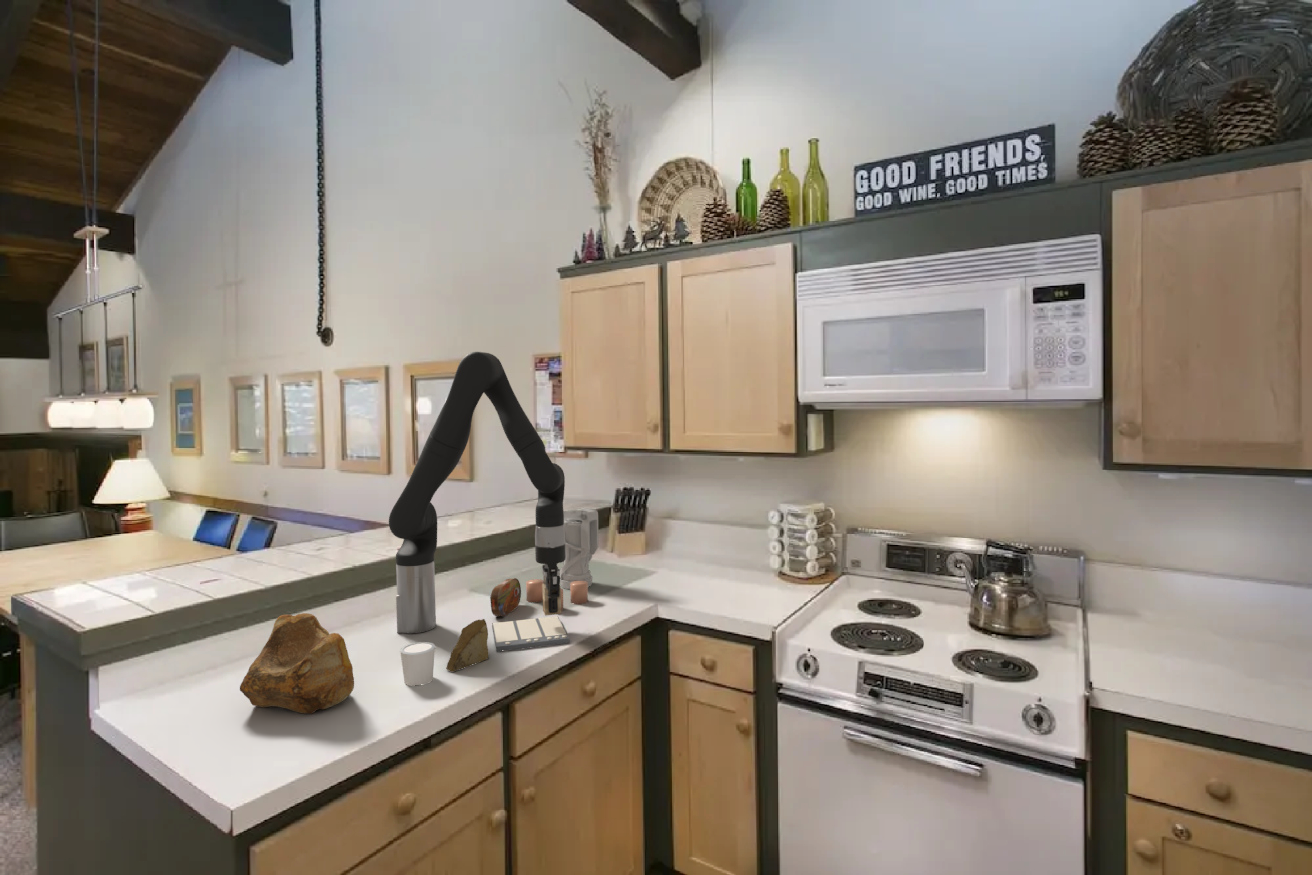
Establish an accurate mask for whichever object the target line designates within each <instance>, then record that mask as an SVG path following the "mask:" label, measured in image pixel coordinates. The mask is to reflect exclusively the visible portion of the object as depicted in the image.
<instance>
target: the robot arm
mask: <svg viewBox="0 0 1312 875" xmlns="http://www.w3.org/2000/svg"><path fill="white" fill-rule="evenodd" d="M483 394H484V395H485V396H486V397H487V398H488V399H489V401H490V402H491V404H492V406H493V407H494V409H495V411H496V413H497V416H498V419H499V422H500V423H501V427H502V430H503V432H504V434H505V437H506V438H507V440H508V442H509V443H510V445H511V446H512V448H513V450H514V452H515V453H516V455H517V456H518V458H519V459H520V460H521V462H522V465H523V468H524V469H525V472H526V474H527V476H528V478H529V480H530V482H531V484H532V485H533V486H534V488H535V489H536V490H537V499H538V500H537V503H536V505H535V532H534V543H535V544H534V545H535V546H534V549H535V550H534V551H535V561H536V563H538V564H541V565H542V569H541V573H542V580H543V583H544V584H545V587H546V589H548V606H549V613H556V612H557V611H558V597H559V596H560V593H559V592H560V586H561V584H560V569H561V568H560V569H559V566H558V564H559V563H560V564H561V563H563V561H565V559H566V550H565V529H564V511H565V510H564V498H565V485H566V484H565V483H566V481H565V479H566V478H565V473H564V470H563V468H562V467H561V466H560V465H559V464H557V463H556V462H555V463H554V462H553V461H552V460H551V458H550V456H549V455H548V453H547V451H546V446H545V443H544V441H543V439H542V438H541V436H540V434H539V433H538V431H537V430H536V428H535V427H534V426H533V424H532V422H531V421H530V419H529V417H528V415H527V414H526V412H525V411H524V409H523V407H522V405H521V404H520V402H519V400H518V398H517V396H516V394H515V392H514V390H513V388H512V385H511V384H510V381H509V379H508V376H507V374H506V372H505V369H504V367H503V364H502V361H501V360H500V359H499V358H498V357H497V356H495V355H494V354H492V353H489V352H482V351H472V352H470V353H466V355H465V356H463V358H461V360H460V362H459V364H458V366H457V368H456V372H455V375H454V377H453V381H452V384H451V387H450V390H449V392H448V395H447V398H446V400H445V401H444V404H443V407H442V408H441V410H440V412H439V414H438V416H437V419H436V420H435V423H434V425H433V426H432V428H431V430H430V432H429V434H428V437H427V439H426V442H425V444H424V446H423V448H422V451H421V453H420V455H419V457H418V460H417V462H416V464H415V466H414V468H413V470H412V473H411V475H410V478H409V479H408V482H407V484H406V486H405V487H404V488H403V490H402V492H401V494H400V495H399V497H398V499H397V501H396V502H395V504H394V506H393V507H392V509H391V511H390V514H389V516H388V526H389V530H390V532H391V534H392V535H393V536H395V537H396V538H398V539H401V540H403V541H402V544H401V546H400V548H399V549H398V550H397V552H396V554H395V570H396V596H395V600H396V601H395V602H396V603H395V604H396V606H395V607H396V630H397V631H396V633H397V634H418V633H423V632H427V631H430V630H432V629H434V628H435V627H436V625H437V613H436V609H437V608H436V607H437V606H436V582H435V581H436V580H435V579H436V578H435V572H436V571H435V553H436V551H437V548H438V547H437V545H438V514H437V511H436V508H435V506H434V504H432V502H431V501H432V499H433V498H434V495H435V494H436V493H437V490H438V489H439V488H440V487H441V486H442V484H443V483H444V482H445V481H446V480H447V479H448V477H449V476H450V475H451V473H453V472H454V470H455V468H456V467H457V465H458V464H459V462H460V460H461V458H462V456H463V454H464V451H465V450H466V447H467V444H468V442H469V438H470V434H471V427H472V421H473V415H474V412H475V410H476V407H477V406H478V403H479V402H480V399H481V398H482V396H483ZM548 584H549V585H548ZM552 590H556V592H554V593H552Z"/></svg>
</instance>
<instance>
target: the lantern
mask: <svg viewBox="0 0 1312 875" xmlns="http://www.w3.org/2000/svg"><path fill="white" fill-rule="evenodd" d="M563 511H564V529H565V550H566V559H565V561H563V562H562V567H561V568H560V586H561V589H564V588H565V590H570V583H571V582H574V581H586V582H588V588H590V587H592V583H593V575H591V570H590V569H589V566H590V565H589V564H590V562H591V560H592V559H593V555H595V554H596V552H597V551H598V549H599V545H600V544H599V541H600V540H599V538H600V537H599V512H598V508H597V507H593V508H592V507H582V508H575V509H568V510H563ZM589 586H590V587H589Z"/></svg>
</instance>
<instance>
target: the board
mask: <svg viewBox="0 0 1312 875" xmlns="http://www.w3.org/2000/svg"><path fill="white" fill-rule="evenodd" d="M491 624H492V625H491V627H492V628H491V629H492V633H493V634H492V635H493V639H494V640H493V641H494V645H495V651H500V652H503V651H502V650H508V651H515V650H514V649H517V650H521V649H522V648H525V649H530V647H533V648H540V647H539V646H541V647H546V646H549V647H550V646H555V645H564V644H569V643H570V638H569V635H568V633H567V631H566V630H565V628H564V626H563V624H562V621H561V620H560V617H559V616H558V615H554V616H548V617H538V618H528V619H517V620H511V621H501V622H500V621H499V622H493V623H491ZM522 650H523V649H522Z"/></svg>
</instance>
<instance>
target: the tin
mask: <svg viewBox="0 0 1312 875" xmlns="http://www.w3.org/2000/svg"><path fill="white" fill-rule="evenodd" d="M521 588H522V586H521V583H520V581H519V579H518V578H517V577H513V578H507V579H505V580H503V581H502V582H500V583H499V584H497V585H495V586H494V587H493V589H492V591H491V593H490V609H491V610H490V611H491V614H492V615H493V616H495V617H503V618H504V617H507V616H508V615H509V614H510V613H512V612H513V611H515V609H517V608H518V607H519V605H520V602H521V598H522V597H521V596H522V590H521ZM516 607H517V608H516Z"/></svg>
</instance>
